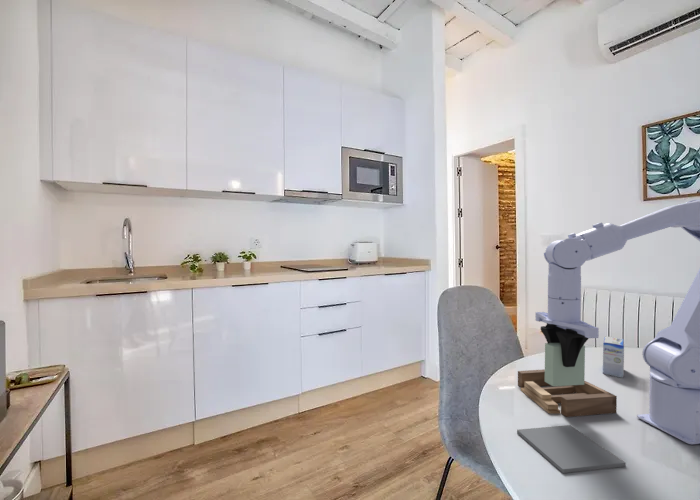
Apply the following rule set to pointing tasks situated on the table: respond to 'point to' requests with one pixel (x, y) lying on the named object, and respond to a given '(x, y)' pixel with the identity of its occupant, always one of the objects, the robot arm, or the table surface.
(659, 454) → the table surface
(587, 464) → the mat
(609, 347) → the medicine box
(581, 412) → the rack
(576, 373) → the panel
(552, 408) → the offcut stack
